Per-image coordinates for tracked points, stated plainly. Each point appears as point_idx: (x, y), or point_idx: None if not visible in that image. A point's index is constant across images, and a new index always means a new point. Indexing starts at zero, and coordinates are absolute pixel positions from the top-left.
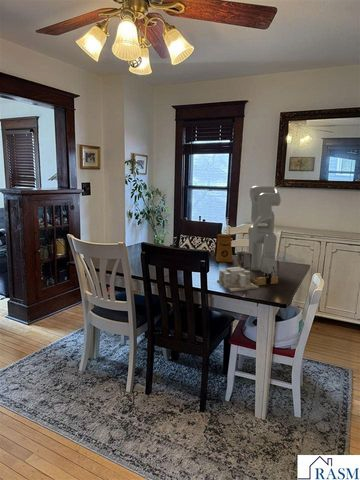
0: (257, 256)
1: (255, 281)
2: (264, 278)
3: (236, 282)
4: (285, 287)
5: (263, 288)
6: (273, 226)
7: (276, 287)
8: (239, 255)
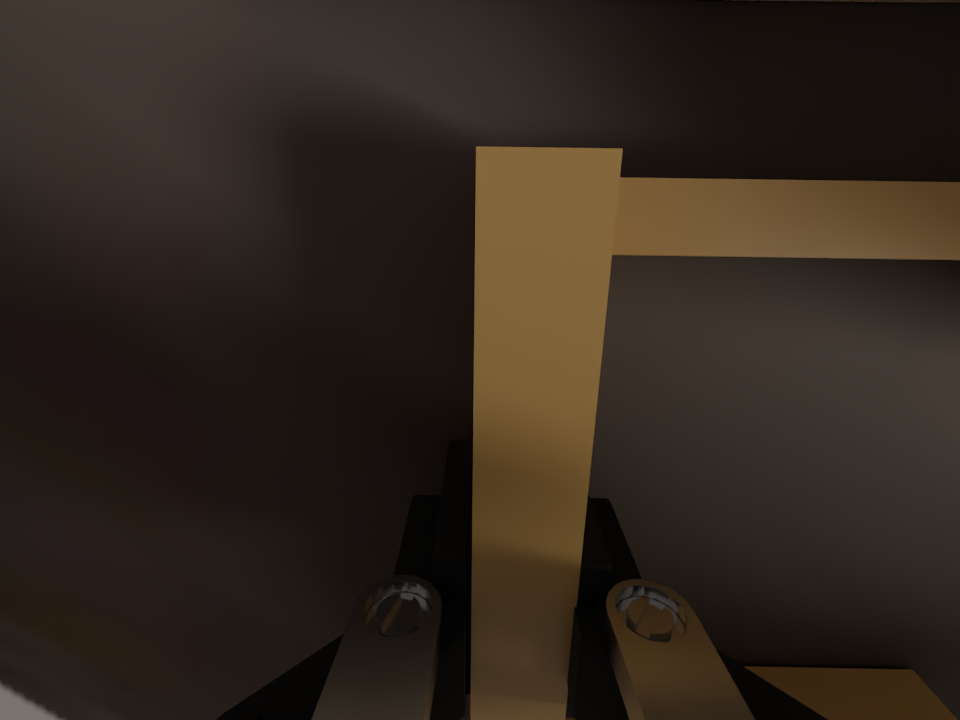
0: None
1: (668, 178)
2: (474, 476)
3: None
4: (185, 673)
5: (183, 169)
6: None
7: (213, 526)
8: None
